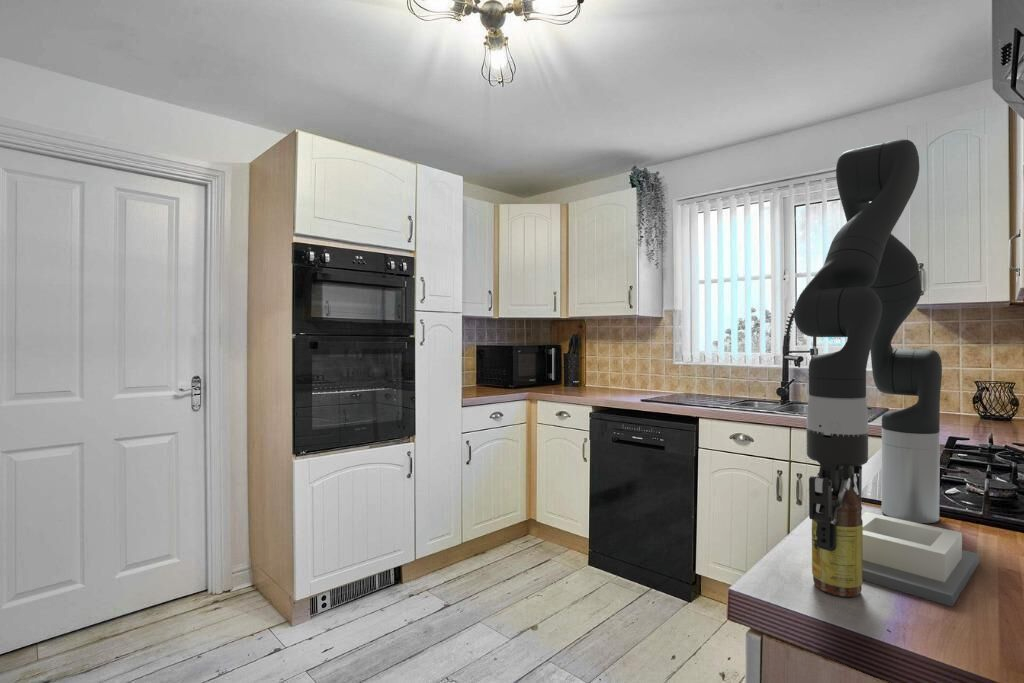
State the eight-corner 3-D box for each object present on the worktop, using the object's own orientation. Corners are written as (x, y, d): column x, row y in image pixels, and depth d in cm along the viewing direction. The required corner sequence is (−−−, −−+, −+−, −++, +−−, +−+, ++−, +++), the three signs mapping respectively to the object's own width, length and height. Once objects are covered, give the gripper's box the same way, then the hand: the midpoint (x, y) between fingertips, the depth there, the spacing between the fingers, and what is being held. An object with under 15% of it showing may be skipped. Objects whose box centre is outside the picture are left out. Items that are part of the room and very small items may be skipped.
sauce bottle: (816, 575, 81) (816, 445, 81) (865, 587, 77) (865, 450, 77) (807, 591, 76) (807, 453, 76) (859, 605, 72) (859, 459, 72)
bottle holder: (863, 534, 97) (863, 504, 97) (979, 563, 85) (979, 528, 85) (821, 567, 84) (821, 532, 84) (952, 606, 72) (952, 566, 71)
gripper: (826, 418, 84) (826, 522, 84) (788, 430, 74) (788, 547, 75) (882, 424, 78) (882, 536, 78) (849, 438, 69) (849, 564, 69)
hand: (836, 541), depth 77 cm, fingers open, 7 cm apart
